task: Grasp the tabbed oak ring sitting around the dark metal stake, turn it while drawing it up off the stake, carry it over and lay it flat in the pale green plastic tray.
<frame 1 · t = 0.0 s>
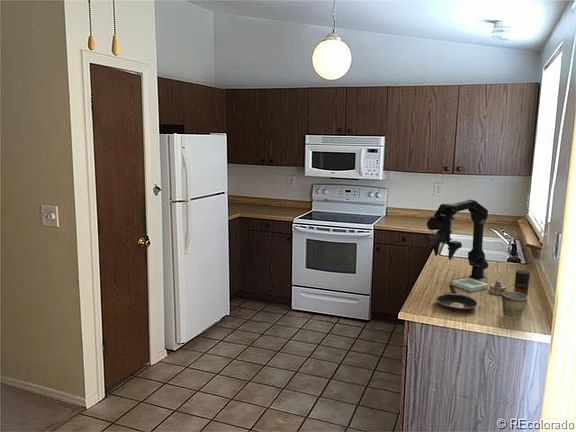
hand: (442, 257, 248), 15 cm above the worktop, fingers open, 9 cm apart
ceramic cup: (513, 316, 209), on the worktop
frying pan: (454, 302, 226), on the worktop
stake: (497, 292, 239), on the worktop
ring: (497, 291, 239), resting on stake
tray: (469, 287, 247), on the worktop
deodorant: (519, 302, 226), on the worktop
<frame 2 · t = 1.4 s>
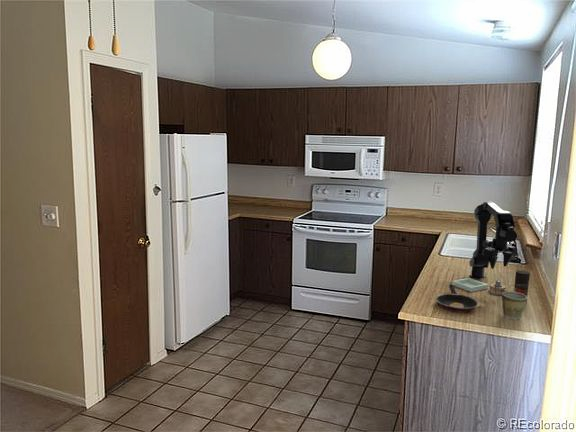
hand: (498, 267, 237), 13 cm above the worktop, fingers open, 9 cm apart
nothing on the worktop moved.
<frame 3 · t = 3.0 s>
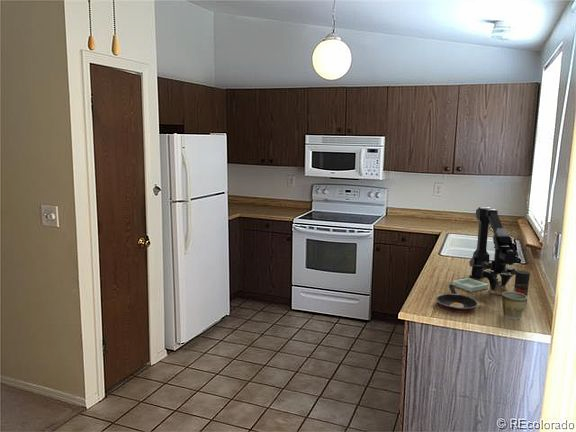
hand: (497, 289, 239), 2 cm above the worktop, fingers closed on ring, 7 cm apart
ring: (497, 291, 239), resting on stake, touching gripper
everything else where it was.
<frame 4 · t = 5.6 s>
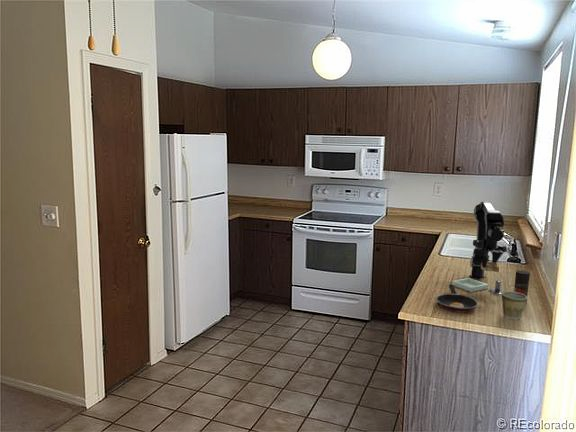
hand: (488, 266, 240), 13 cm above the worktop, fingers closed on ring, 7 cm apart
ring: (488, 269, 240), point 11 cm above the worktop, touching gripper
everything else where it was.
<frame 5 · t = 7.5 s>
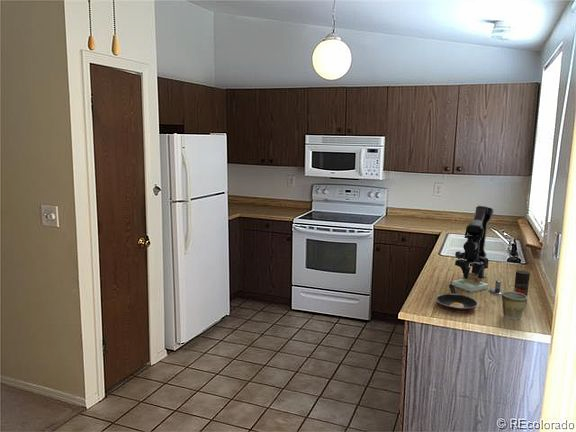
hand: (470, 277, 246), 5 cm above the worktop, fingers closed on ring, 7 cm apart
ring: (470, 280, 246), point 4 cm above the worktop, touching gripper
everything else where it was.
when the fingers open (3 cm above the worktop, at t = 8.6 s): ring stays where it is, resting on tray.
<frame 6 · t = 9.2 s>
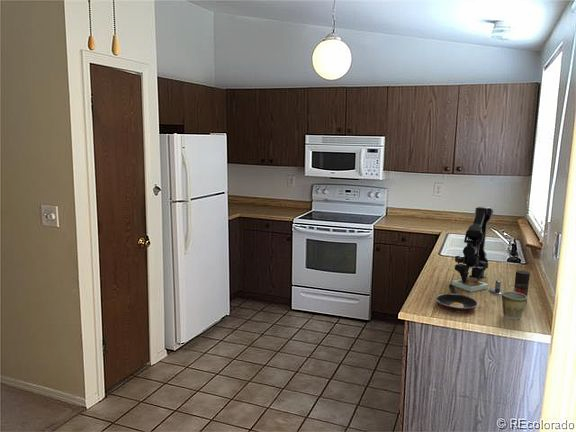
hand: (470, 282, 246), 3 cm above the worktop, fingers open, 9 cm apart
ring: (470, 284, 246), point 1 cm above the worktop, tilted 14°, touching tray
everything else where it was.
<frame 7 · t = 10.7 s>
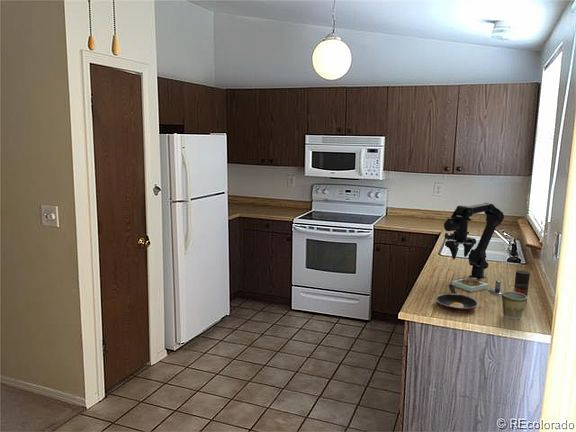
hand: (459, 257, 255), 13 cm above the worktop, fingers open, 9 cm apart
nothing on the worktop moved.
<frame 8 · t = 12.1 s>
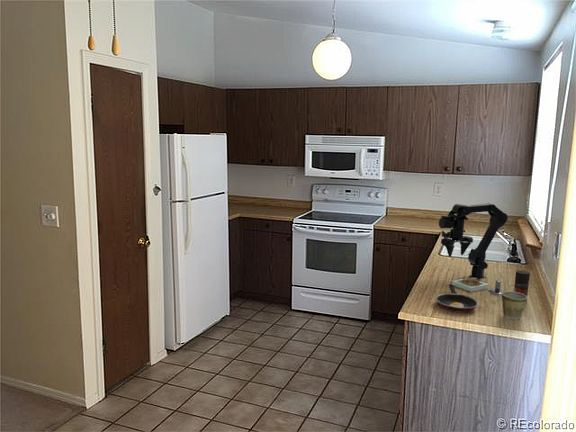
hand: (455, 255, 258), 13 cm above the worktop, fingers open, 9 cm apart
nothing on the worktop moved.
at the end: ring inside the target area on the tray (0.2 cm from its centre), point 1.4 cm above the tray's base; ring tilted 14°; the gripper is holding nothing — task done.
